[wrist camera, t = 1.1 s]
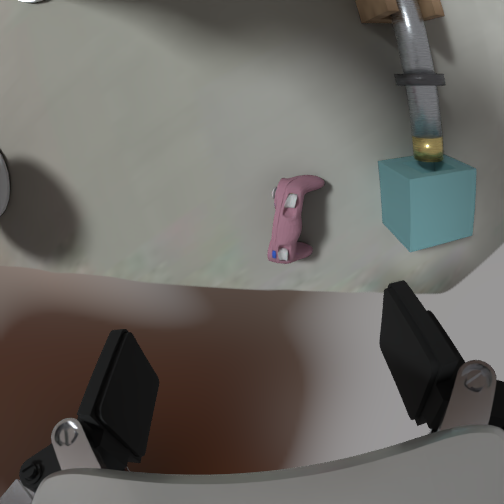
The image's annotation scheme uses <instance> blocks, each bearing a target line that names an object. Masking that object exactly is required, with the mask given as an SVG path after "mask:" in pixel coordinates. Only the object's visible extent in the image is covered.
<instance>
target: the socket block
mask: <svg viewBox="0 0 504 504" xmlns="http://www.w3.org/2000/svg"><path fill="white" fill-rule="evenodd" d="M443 157H444V159H443V160H442V161H440V162H421V161H418V160H415V159H414V156H408V157H401V158H395V159H388V160H382V161H378V166H379V177H380V189H381V203H382V221H383V224H384V225H385V226H386V227H387V228H388V229H389V230H390V231H391V232H392V233H393V234H394V235H395V236H396V238H397V239H398V240H399V241H400V242H401V243H402V244H403V245H404V246H405V247H406V248H407V250H408V251H409V252H413V251H417V250H421V249H425V248H428V247H432V246H436V245H439V244H443V243H447V242H450V241H454V240H458V239H461V238H465V237H468V236H472V233H473V223H474V211H475V195H476V168H474V167H471V166H469V165H467V164H465V163H463V162H460V161H458V160H456V159H454V158H451V157H449V156H447V155H444V154H443Z"/></svg>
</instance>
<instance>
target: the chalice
mask: <svg viewBox="0 0 504 504" xmlns="http://www.w3.org/2000/svg"><path fill="white" fill-rule="evenodd" d="M9 195H10V181H9V173H8V170H7V166H6V163H5V161H4V159H3V157H2V155H1V153H0V216H1V215H2V214H3V212H4V211H5V209H6V207H7V204H8V201H9Z"/></svg>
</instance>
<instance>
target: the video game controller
mask: <svg viewBox="0 0 504 504" xmlns="http://www.w3.org/2000/svg"><path fill="white" fill-rule="evenodd" d="M324 185H325V182H324V180H323V179H321V178H320V177H318V176H313V175H302V176H296V177H292V178H288V179H286V178H282V179H281V180H280V182H279V184H278V186H277V187H275V188H274V189H273V191H272V197H273V199H274V198H275V202H274V204H275V209H276V211H275V216H274V222H273V229H272V238H271V241H270V244H269V248H268V260H269V261H272V262H276V263H283V264H288V263H291V262H294V261H297V260H300V259H303V258H305V257H308V256H309V255H311V254H312V252H313V248H312V247H311V246H310V245H308V244H305V243H301V242H297V240H298V238H299V236H300V234H301V230H302V220H301V213H302V207H303V200H304V195H305V194H306V193H308V192H310V191H313V190H317V189H320V188H321V187H323V186H324Z"/></svg>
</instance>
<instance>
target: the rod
mask: <svg viewBox="0 0 504 504" xmlns="http://www.w3.org/2000/svg"><path fill="white" fill-rule="evenodd" d="M396 2H397V6H398V9H399V11H398V12H396V13H393V14H391V15H390V17H391V20H392V24H393V28H394V32H395V36H396V40H397V44H398V49H399V53H400V58H401V63H402V68H403V74H394V75H395V80H396V86H406V91H407V97H408V104H409V112H410V120H411V129H412V140H413V152H414V159H415V160H418V161H421V162H440V161H442V160H443V159H444V157H443V138H442V128H441V117H440V107H439V99H438V92H437V86H443V85H445V78H444V74H435V72H434V67H433V61H432V56H431V51H430V47H429V42H428V38H427V33H426V29H425V25H424V21H423V18H422V14H421V10H420V7H419V4H418V0H396Z"/></svg>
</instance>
